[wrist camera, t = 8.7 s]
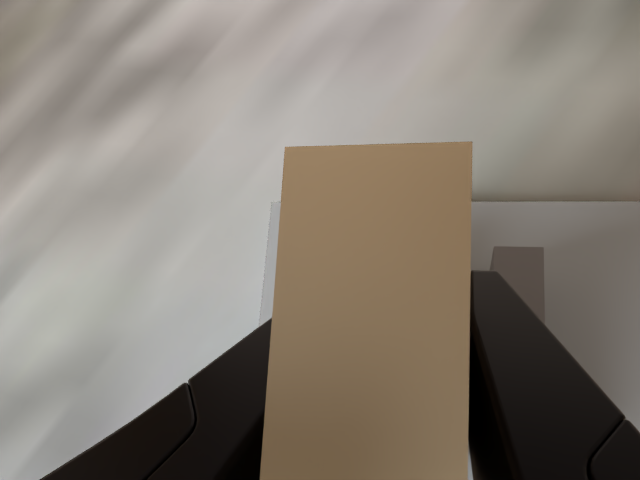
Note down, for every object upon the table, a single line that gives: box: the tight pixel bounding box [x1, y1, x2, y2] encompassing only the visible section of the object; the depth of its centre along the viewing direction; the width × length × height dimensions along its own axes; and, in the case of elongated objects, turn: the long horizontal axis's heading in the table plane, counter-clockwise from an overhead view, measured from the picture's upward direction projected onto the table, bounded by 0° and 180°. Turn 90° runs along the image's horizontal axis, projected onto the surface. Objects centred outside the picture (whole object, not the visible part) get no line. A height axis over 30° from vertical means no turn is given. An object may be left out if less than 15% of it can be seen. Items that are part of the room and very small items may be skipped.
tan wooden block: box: [260, 142, 472, 480], centre depth 9 cm, size 4×2×11 cm, turn 176°
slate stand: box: [259, 201, 640, 480], centre depth 14 cm, size 10×10×4 cm
